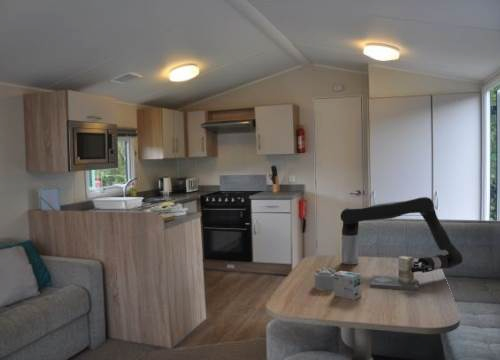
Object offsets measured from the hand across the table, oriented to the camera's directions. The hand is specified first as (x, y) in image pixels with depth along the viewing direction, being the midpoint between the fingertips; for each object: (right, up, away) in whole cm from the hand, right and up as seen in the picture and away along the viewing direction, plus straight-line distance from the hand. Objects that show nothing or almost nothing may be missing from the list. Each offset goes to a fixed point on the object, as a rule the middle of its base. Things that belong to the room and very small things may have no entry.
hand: (405, 268), depth 212 cm
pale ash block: (+1, -6, 0) cm, 7 cm away
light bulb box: (-32, -10, -13) cm, 36 cm away
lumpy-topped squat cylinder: (-39, -10, +2) cm, 40 cm away
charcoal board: (-5, -8, +3) cm, 10 cm away
